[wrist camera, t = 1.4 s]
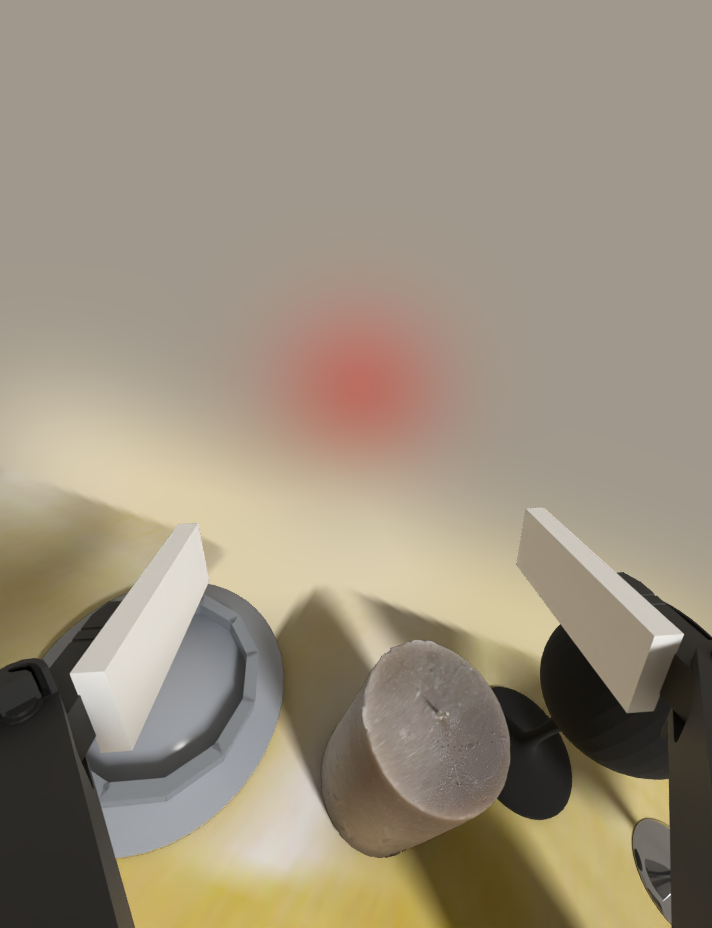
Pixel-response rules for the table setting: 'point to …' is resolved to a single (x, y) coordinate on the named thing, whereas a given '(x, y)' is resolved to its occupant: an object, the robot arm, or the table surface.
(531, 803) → the wine glass
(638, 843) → the wine glass
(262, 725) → the candle plate
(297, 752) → the table surface
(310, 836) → the table surface
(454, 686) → the pillar candle
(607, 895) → the table surface
